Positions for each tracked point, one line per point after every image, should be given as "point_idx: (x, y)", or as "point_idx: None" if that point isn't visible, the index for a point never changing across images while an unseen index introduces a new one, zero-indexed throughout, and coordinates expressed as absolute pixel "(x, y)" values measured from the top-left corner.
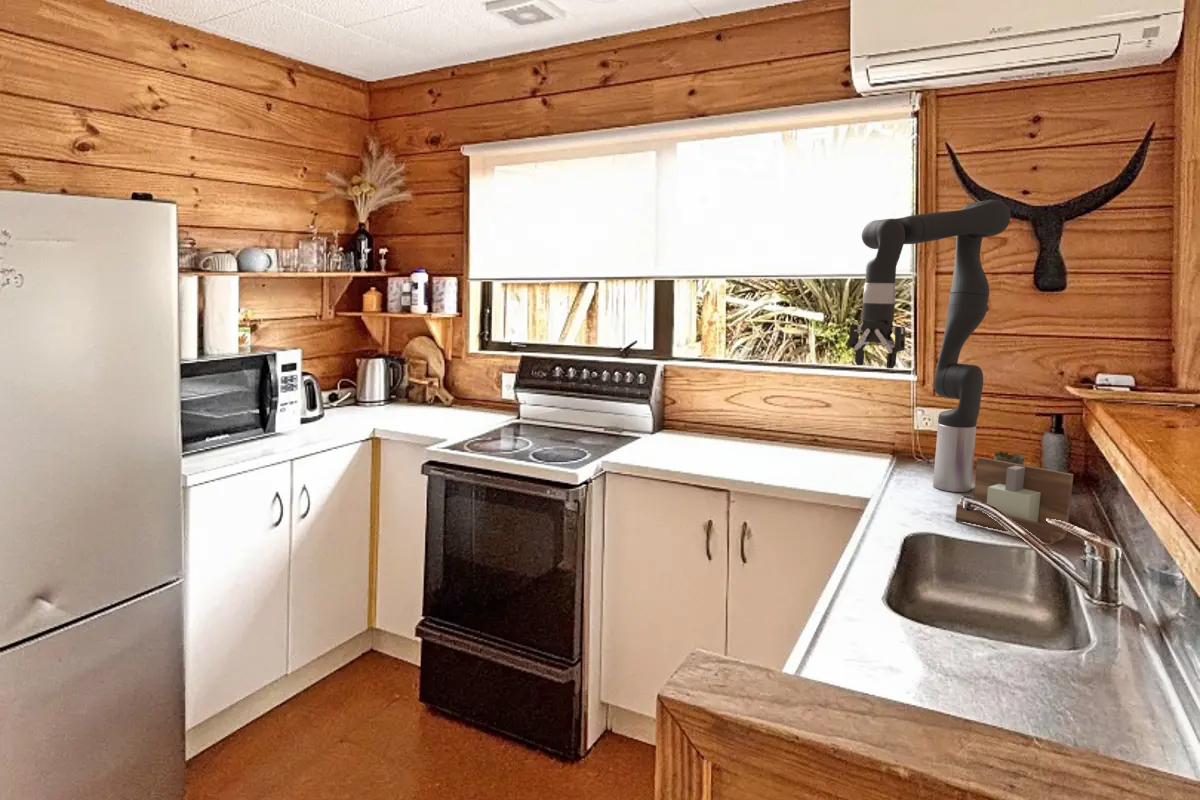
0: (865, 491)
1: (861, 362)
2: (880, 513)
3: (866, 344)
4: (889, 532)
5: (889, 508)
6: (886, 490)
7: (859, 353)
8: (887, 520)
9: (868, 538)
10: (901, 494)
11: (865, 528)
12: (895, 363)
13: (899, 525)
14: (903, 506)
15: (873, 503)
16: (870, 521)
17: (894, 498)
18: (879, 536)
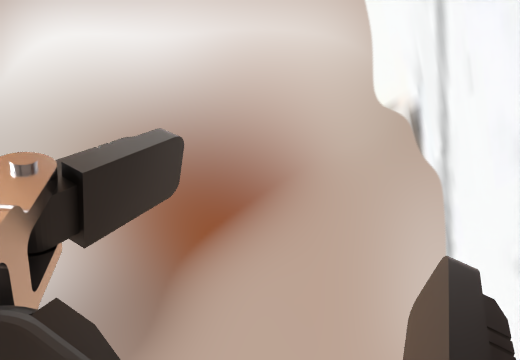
0: (396, 53)
1: (167, 168)
2: (462, 214)
3: (30, 225)
4: None
5: (477, 169)
6: (447, 4)
7: (104, 232)
8: (483, 254)
9: None
10: (496, 19)
11: None
12: (504, 327)
13: (512, 276)
14: (511, 136)
15: (434, 148)
16: None
17: (480, 75)
18: None
